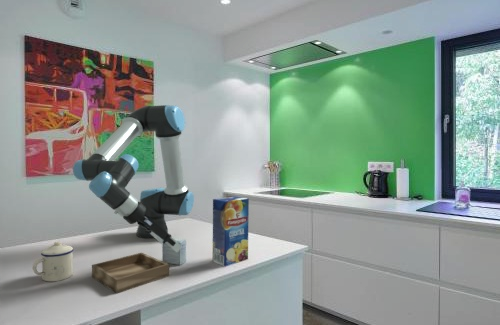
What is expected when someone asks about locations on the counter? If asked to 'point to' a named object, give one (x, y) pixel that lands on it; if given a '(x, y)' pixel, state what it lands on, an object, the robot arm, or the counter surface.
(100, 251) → the counter surface
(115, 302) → the counter surface
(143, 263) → the tray
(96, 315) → the counter surface
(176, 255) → the medicine box
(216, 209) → the juice carton
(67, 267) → the teacup with lid
